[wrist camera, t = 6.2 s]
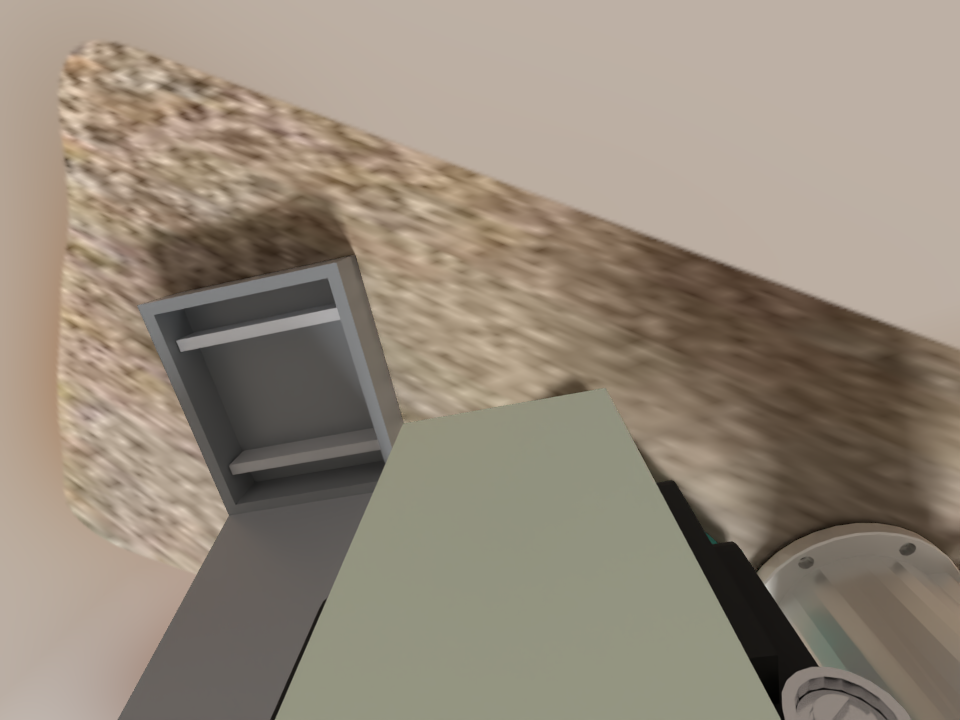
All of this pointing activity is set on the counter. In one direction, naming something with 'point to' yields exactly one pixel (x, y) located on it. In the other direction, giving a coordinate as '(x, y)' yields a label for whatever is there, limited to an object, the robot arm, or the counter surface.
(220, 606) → the lid
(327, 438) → the case
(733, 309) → the counter surface
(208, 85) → the counter surface
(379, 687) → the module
